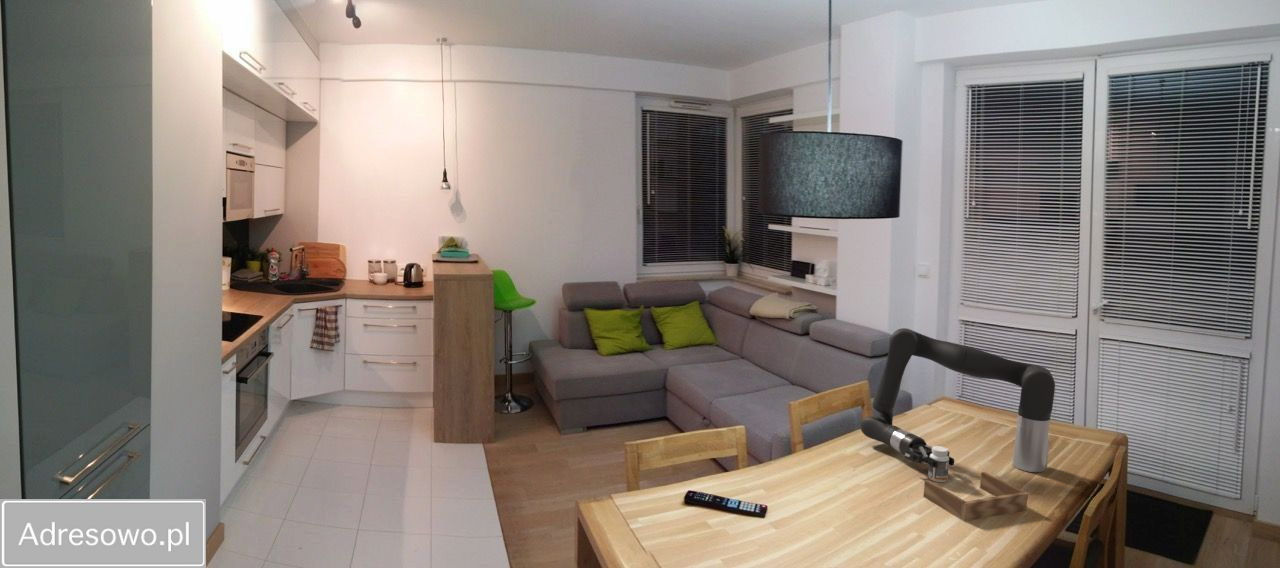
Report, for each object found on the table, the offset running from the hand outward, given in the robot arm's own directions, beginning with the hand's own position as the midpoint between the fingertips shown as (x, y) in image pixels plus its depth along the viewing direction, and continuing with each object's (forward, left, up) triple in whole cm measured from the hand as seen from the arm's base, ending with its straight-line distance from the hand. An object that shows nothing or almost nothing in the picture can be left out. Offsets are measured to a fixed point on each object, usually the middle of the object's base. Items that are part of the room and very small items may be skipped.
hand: (945, 463), depth 223 cm
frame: (+2, +14, -6) cm, 15 cm away
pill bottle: (0, -2, -6) cm, 7 cm away
